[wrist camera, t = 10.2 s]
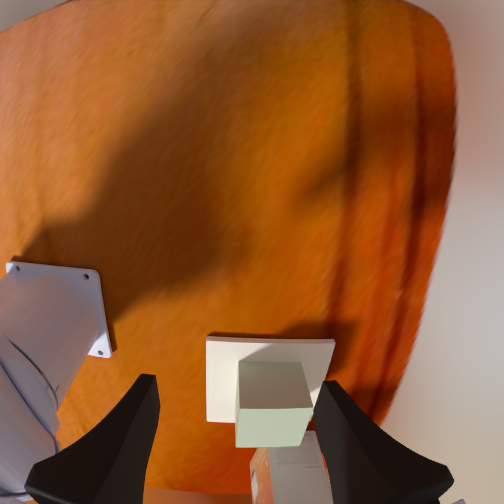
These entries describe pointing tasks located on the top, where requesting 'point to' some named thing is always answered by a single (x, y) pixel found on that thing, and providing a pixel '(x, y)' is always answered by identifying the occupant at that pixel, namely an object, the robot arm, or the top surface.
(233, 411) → the tile
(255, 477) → the small box
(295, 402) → the cube
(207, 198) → the top surface
